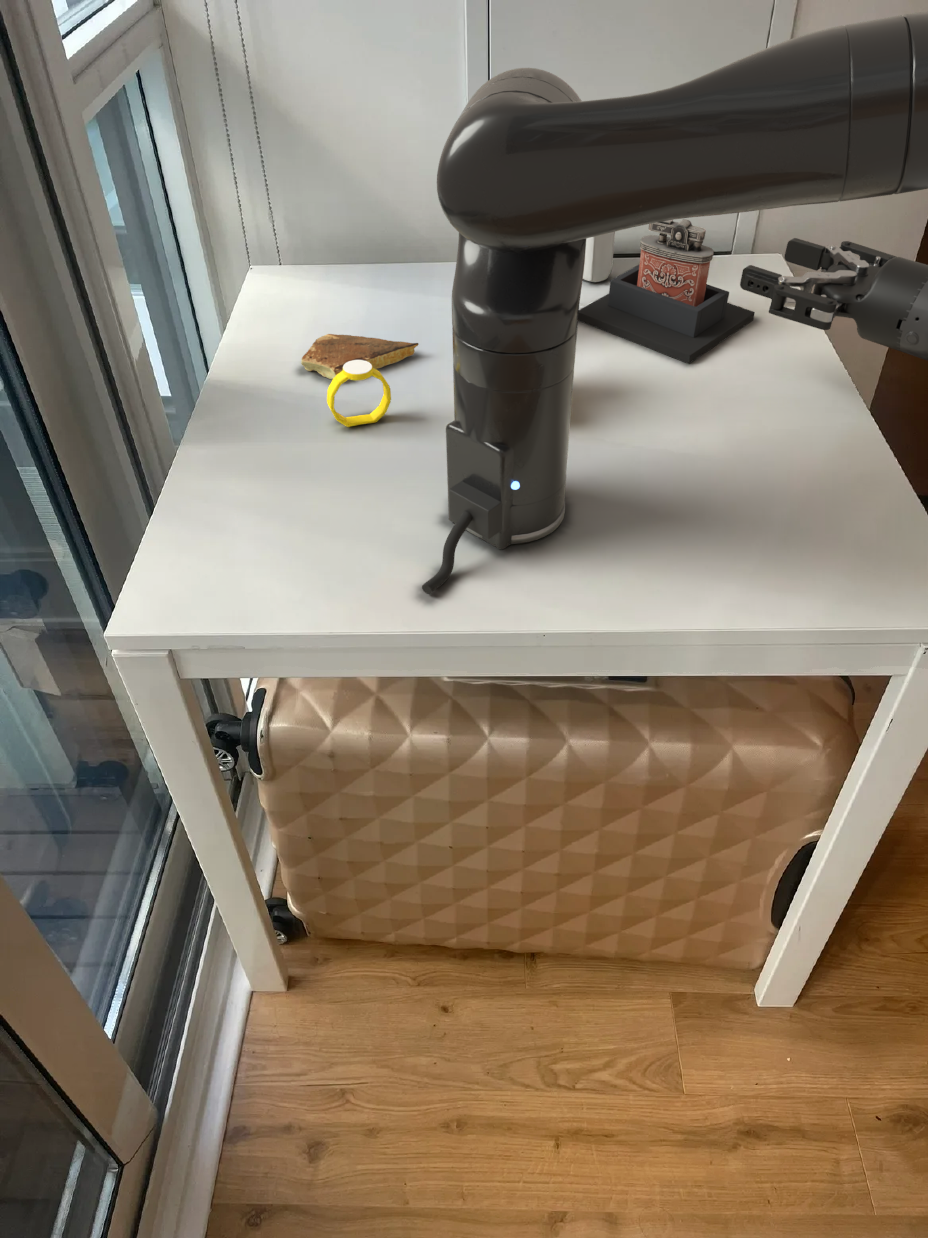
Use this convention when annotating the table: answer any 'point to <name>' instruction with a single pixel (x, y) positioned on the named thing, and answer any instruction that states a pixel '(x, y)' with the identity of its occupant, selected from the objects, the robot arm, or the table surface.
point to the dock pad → (665, 318)
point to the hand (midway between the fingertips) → (765, 261)
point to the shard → (353, 353)
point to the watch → (358, 372)
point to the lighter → (675, 261)
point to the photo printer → (599, 257)
